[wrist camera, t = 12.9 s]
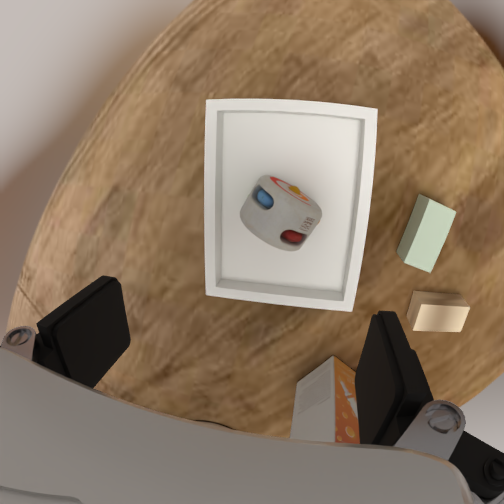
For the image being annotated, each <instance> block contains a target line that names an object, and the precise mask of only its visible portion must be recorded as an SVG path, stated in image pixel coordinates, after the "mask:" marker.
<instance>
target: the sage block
mask: <svg viewBox="0 0 504 504" xmlns="http://www.w3.org/2000/svg"><path fill="white" fill-rule="evenodd" d="M455 214H456V211H454V210H452V209H450V208H448V207H446V206H444V205H442V204H440V203H438V202H436V201H434V200H432V199H430V198H427V197H425V196H423V195H421V194H419V195H418V198H417V201H416V203H415V206H414V209H413V211H412V214H411V217H410V219H409V222H408V224H407V227H406V229H405V232H404V234H403V237H402V239H401V241H400V244H399V246H398V249H397V251H396V252H397V254H398V255H399V256H400V258H401V259H402V261H403V262H404V263H406V264H409V265H411V266H414V267H417V268H419V269H422V270H424V271H427V272H431V270H432V268H433V266H434V264H435V262H436V260H437V257H438V255H439V253H440V251H441V248H442V246H443V244H444V241H445V239H446V237H447V234H448V232H449V229H450V227H451V224H452V222H453V219H454V217H455Z"/></svg>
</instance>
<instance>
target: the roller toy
mask: <svg viewBox="0 0 504 504" xmlns="http://www.w3.org/2000/svg"><path fill="white" fill-rule="evenodd" d="M321 217H322V210H321V208H320V207H319V206H318V204H317V203H315V202H314V201H313V200H312V199H311V198H309V197H308V196H307V195H305V194H304V193H303V192H301V191H300V190H299V188H298V187H296V186H292V185H290V184H288V183H287V182H285V181H283V180H281V179H279V178H276V177H274V176H271V175H264V176H261V177H260V178H259V179H258V181H257V182H256V184H255V186H254V187H253V189H252V191H251V192H250V194H249V195H248V197H247V199H246V201H245V202H244V204H243V206H242V208H241V210H240V218H241V221H242V223H243V224H244V225H245V227H246V228H247V229H248V230H249V231H250V232H252V233H253V234H254V235H255V236H257V237H258V238H259V239H261V240H262V241H264V242H266V243H267V244H269V245H271V246H273V247H276V248H278V249H281V250H284V251H297V250H299V249H300V248H301V247H302V246H303V244H304V243H305V241H306V240H307V239H308V237H309V236H310V234H311V233H312V231H313V230H314V228H315V227H316V225H317V224H319V222H320V219H321Z"/></svg>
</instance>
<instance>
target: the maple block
mask: <svg viewBox="0 0 504 504" xmlns="http://www.w3.org/2000/svg"><path fill="white" fill-rule="evenodd" d="M469 308H470V306H469V305H468V304H467V303H466V301H465V300H464V299H463V297H462V296H461V295H460V294H450V293H436V292H424V291H413V295H412V298H411V302H410V305H409V309H408V312H407V315H406V316H407V318H408V320H409V323H410V325H411V327H412V330H414V331H443V332H461V329H462V327H463V324H464V322H465V319H466V317H467V314H468V311H469Z"/></svg>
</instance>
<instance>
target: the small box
mask: <svg viewBox="0 0 504 504" xmlns="http://www.w3.org/2000/svg"><path fill="white" fill-rule="evenodd" d="M355 374H356V372H355V371H353V370H352V369H351V368H350V367H348V366H347V365H346V364H344V363H343V362H342V361H340V360H339V359H338V358H336V357H335V356H332V357H330V358H329V359H328V360H327V361H325V362H324V363H323V364H321V365H320V366H319V367H317V368H316V369H315V370H313V371H312V372H311V373H309V374H308V375H307V376H305V377H304V378H303V379H301V380H300V381H298V382H297V387H296V395H295V403H294V411H293V419H292V426H291V433H290V438H292V439H301V440H311V441H322V442H337V443H353V444H360V438H359V424H358V413H357V402H356V392H355Z"/></svg>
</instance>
